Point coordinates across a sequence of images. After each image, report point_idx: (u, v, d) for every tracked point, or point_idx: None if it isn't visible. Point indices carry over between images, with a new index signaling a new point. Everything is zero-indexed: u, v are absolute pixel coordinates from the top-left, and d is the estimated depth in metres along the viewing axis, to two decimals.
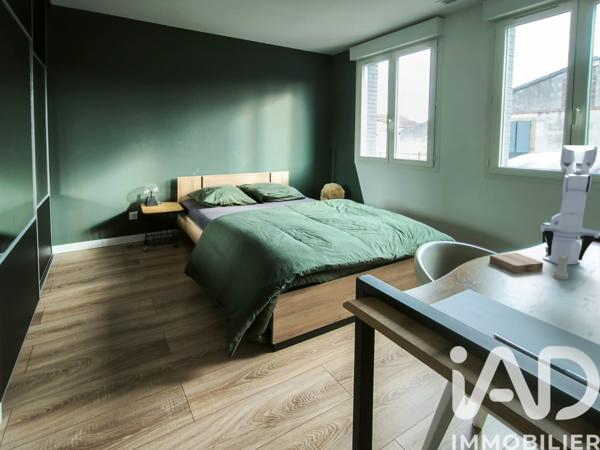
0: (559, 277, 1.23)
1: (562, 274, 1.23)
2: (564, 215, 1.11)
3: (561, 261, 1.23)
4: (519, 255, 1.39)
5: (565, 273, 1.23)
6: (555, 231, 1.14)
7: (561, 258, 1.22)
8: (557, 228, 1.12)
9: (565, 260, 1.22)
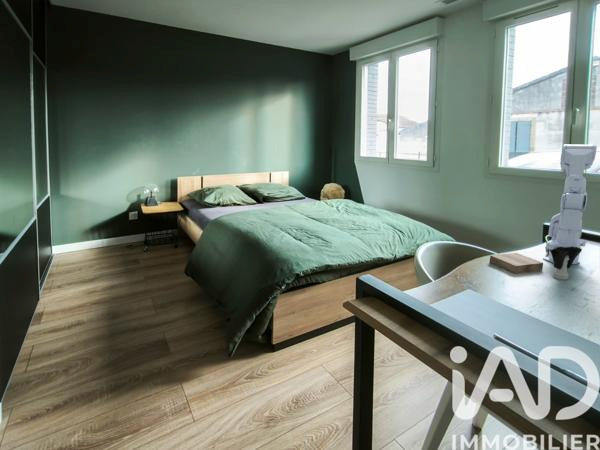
0: (559, 277, 1.23)
1: (562, 274, 1.23)
2: (570, 232, 1.18)
3: None
4: (519, 255, 1.39)
5: (565, 273, 1.23)
6: (558, 247, 1.21)
7: None
8: (565, 245, 1.19)
9: (565, 260, 1.22)
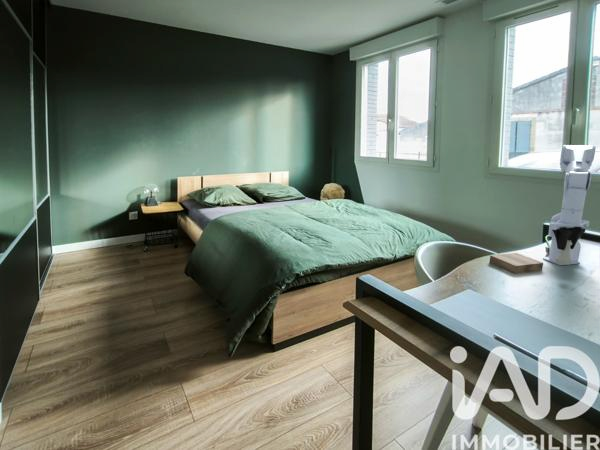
0: (561, 262, 1.22)
1: (565, 259, 1.21)
2: (573, 212, 1.17)
3: None
4: (519, 255, 1.39)
5: (568, 258, 1.21)
6: (562, 227, 1.19)
7: None
8: (568, 225, 1.18)
9: (567, 245, 1.21)
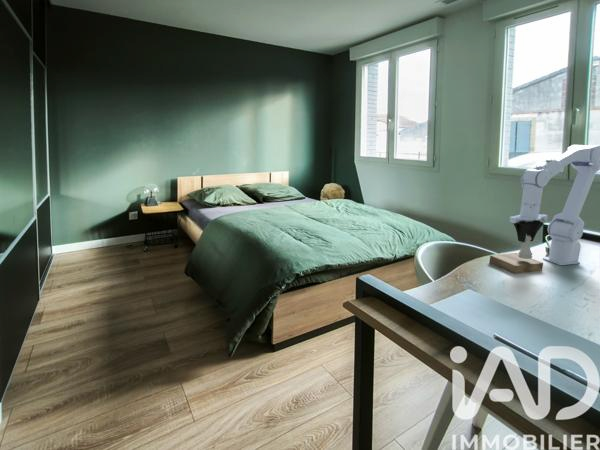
0: (523, 256, 1.31)
1: (526, 253, 1.30)
2: (531, 207, 1.26)
3: (524, 241, 1.31)
4: None
5: (528, 252, 1.30)
6: (521, 220, 1.28)
7: None
8: (527, 218, 1.27)
9: (527, 239, 1.30)
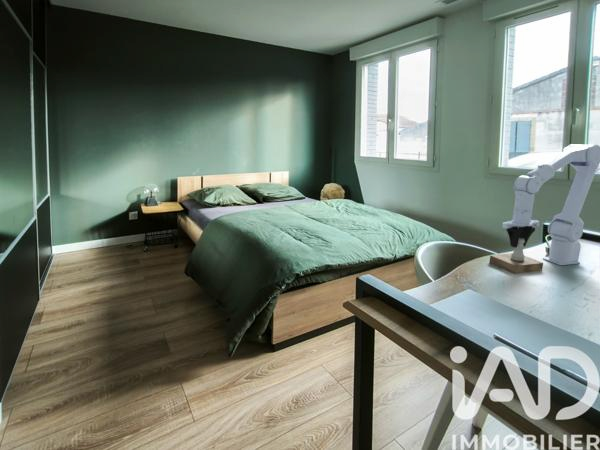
0: (515, 258, 1.33)
1: (518, 255, 1.32)
2: (523, 213, 1.28)
3: None
4: None
5: (521, 255, 1.32)
6: (513, 226, 1.31)
7: None
8: (519, 224, 1.29)
9: (520, 242, 1.31)
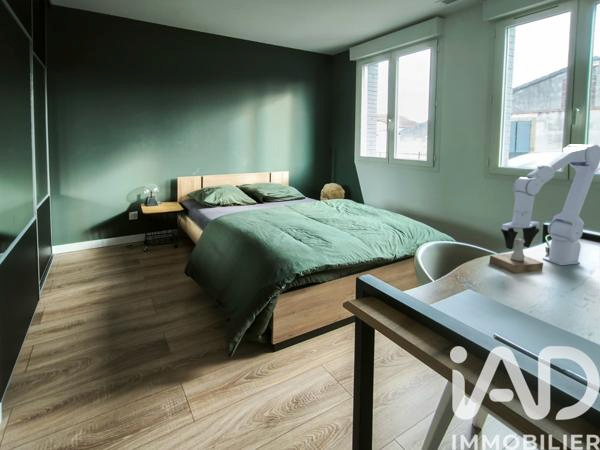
0: (515, 258, 1.33)
1: (518, 255, 1.32)
2: (523, 214, 1.28)
3: (517, 243, 1.32)
4: None
5: (521, 255, 1.32)
6: (513, 228, 1.31)
7: (517, 241, 1.32)
8: (519, 226, 1.29)
9: (520, 242, 1.31)
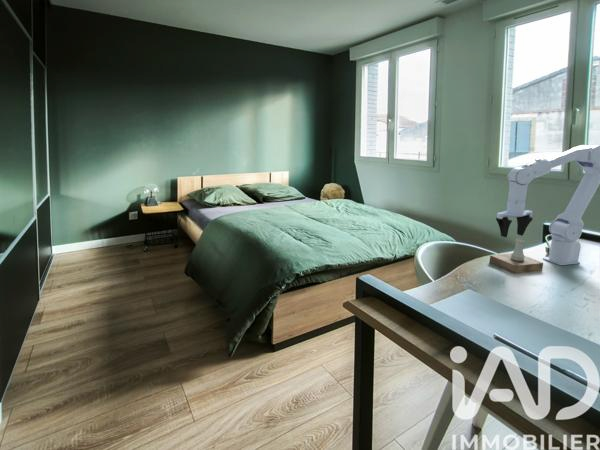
0: (515, 258, 1.33)
1: (518, 255, 1.32)
2: (517, 203, 1.33)
3: (517, 243, 1.32)
4: None
5: (521, 255, 1.32)
6: (507, 216, 1.36)
7: (517, 241, 1.32)
8: (513, 214, 1.34)
9: (520, 242, 1.31)
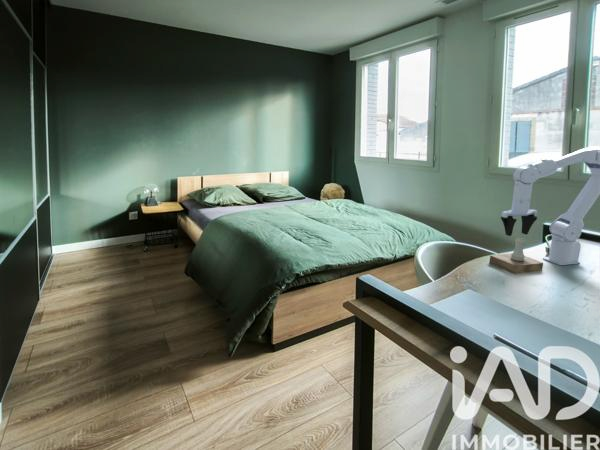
0: (515, 258, 1.33)
1: (518, 255, 1.32)
2: (522, 202, 1.34)
3: (517, 243, 1.32)
4: None
5: (521, 255, 1.32)
6: (512, 215, 1.37)
7: (517, 241, 1.32)
8: (517, 213, 1.35)
9: (520, 242, 1.31)
